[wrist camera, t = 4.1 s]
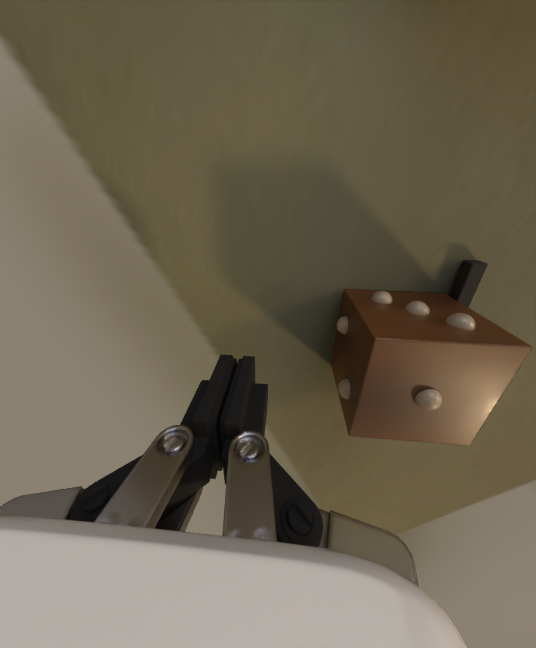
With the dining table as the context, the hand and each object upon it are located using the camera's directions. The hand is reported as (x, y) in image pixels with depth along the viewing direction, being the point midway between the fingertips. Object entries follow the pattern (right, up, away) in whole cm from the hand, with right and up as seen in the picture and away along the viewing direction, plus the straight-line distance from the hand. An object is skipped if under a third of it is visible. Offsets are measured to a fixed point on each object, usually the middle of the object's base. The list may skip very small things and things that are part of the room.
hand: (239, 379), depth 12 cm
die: (+9, +2, +4) cm, 10 cm away
